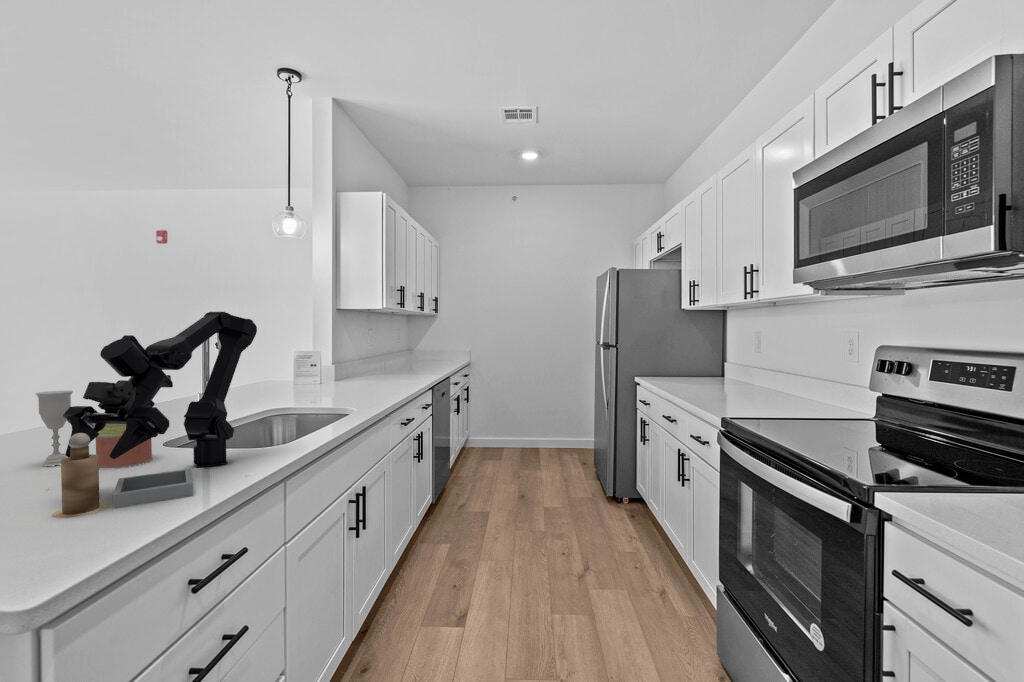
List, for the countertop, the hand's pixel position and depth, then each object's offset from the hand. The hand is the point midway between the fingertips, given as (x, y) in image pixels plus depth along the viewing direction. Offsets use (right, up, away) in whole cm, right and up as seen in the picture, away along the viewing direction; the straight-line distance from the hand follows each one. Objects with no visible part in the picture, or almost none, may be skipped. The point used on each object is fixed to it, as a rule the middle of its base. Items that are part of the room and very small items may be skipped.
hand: (89, 457), depth 93 cm
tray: (+7, -10, +8) cm, 14 cm away
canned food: (-19, -9, +33) cm, 39 cm away
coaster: (0, -10, -2) cm, 10 cm away
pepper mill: (0, -9, -2) cm, 9 cm away
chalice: (-35, -9, +32) cm, 48 cm away
